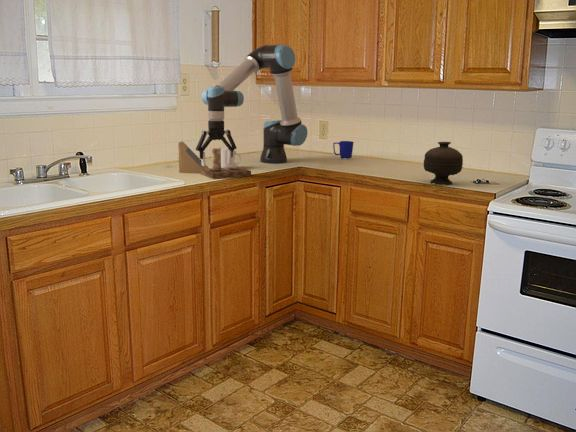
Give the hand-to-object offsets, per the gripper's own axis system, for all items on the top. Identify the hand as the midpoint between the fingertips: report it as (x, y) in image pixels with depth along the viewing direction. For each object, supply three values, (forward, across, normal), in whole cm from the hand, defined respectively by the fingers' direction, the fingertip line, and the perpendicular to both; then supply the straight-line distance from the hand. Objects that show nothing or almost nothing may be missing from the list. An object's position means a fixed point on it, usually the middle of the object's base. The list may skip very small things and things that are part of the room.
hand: (216, 164), depth 275 cm
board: (+5, -5, 0) cm, 7 cm away
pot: (+6, -88, +61) cm, 107 cm away
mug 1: (+6, -15, -17) cm, 23 cm away
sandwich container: (+6, +5, -14) cm, 16 cm away
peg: (+5, 0, 0) cm, 5 cm away
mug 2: (+6, -95, -26) cm, 99 cm away
